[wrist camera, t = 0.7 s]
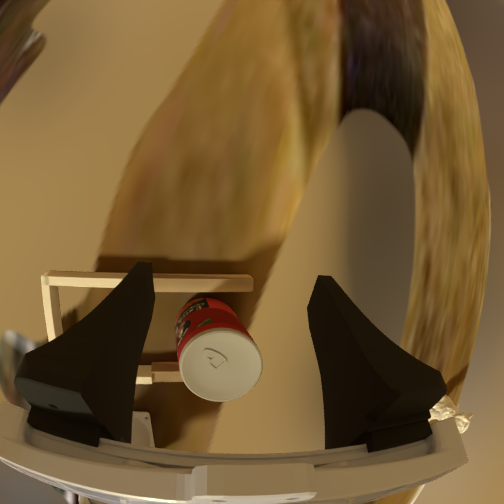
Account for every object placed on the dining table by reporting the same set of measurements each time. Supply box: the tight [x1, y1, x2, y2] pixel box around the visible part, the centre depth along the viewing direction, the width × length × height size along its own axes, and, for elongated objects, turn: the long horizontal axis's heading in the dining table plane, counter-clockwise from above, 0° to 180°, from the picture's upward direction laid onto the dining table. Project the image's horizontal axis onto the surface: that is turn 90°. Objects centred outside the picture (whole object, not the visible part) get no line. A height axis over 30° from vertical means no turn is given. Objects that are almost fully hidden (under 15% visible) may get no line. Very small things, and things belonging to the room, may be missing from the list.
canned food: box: [175, 298, 263, 402], centre depth 32 cm, size 8×8×11 cm
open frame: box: [41, 271, 152, 384], centre depth 32 cm, size 13×12×3 cm
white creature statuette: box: [428, 395, 473, 434], centre depth 48 cm, size 10×9×12 cm
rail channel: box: [151, 273, 254, 382], centre depth 35 cm, size 13×12×2 cm
